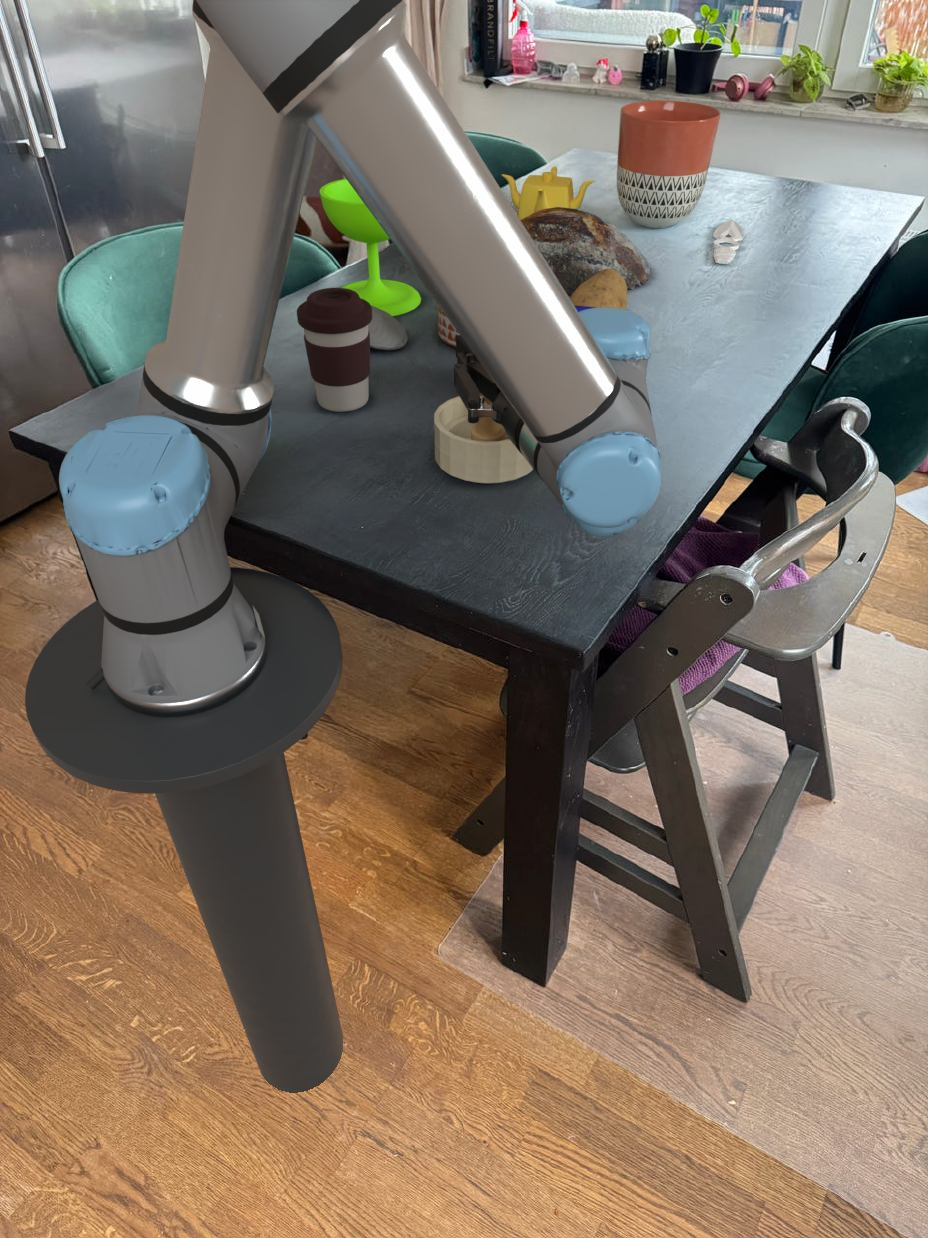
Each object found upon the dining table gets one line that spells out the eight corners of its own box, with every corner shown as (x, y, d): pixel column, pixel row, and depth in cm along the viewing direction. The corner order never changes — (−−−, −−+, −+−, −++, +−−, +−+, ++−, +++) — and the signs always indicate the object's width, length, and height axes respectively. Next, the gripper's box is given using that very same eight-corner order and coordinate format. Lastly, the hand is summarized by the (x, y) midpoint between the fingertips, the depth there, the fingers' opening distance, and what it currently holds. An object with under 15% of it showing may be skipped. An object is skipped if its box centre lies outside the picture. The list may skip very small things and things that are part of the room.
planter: (602, 234, 179) (614, 117, 165) (615, 207, 193) (627, 98, 179) (697, 242, 175) (718, 123, 161) (703, 214, 189) (722, 103, 175)
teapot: (592, 224, 184) (596, 175, 177) (539, 236, 178) (541, 185, 172) (551, 207, 193) (554, 160, 187) (499, 218, 187) (500, 169, 181)
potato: (549, 349, 136) (553, 290, 130) (586, 315, 146) (592, 259, 140) (600, 360, 133) (607, 300, 127) (635, 325, 143) (642, 268, 137)
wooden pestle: (485, 452, 106) (487, 308, 95) (463, 438, 109) (463, 297, 97) (512, 441, 108) (518, 299, 97) (490, 428, 111) (493, 288, 99)
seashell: (327, 343, 137) (363, 354, 131) (325, 306, 135) (362, 316, 128) (385, 336, 144) (422, 346, 138) (385, 300, 142) (423, 309, 135)
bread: (507, 237, 177) (508, 184, 171) (663, 257, 168) (671, 202, 162) (458, 281, 158) (458, 224, 152) (632, 306, 149) (640, 246, 143)
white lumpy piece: (706, 262, 166) (706, 258, 165) (717, 220, 186) (717, 216, 185) (737, 265, 164) (738, 261, 164) (745, 222, 185) (746, 218, 184)
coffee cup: (350, 424, 117) (340, 316, 108) (294, 407, 121) (279, 301, 111) (391, 395, 124) (385, 291, 114) (336, 379, 128) (325, 277, 118)
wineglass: (341, 322, 144) (330, 207, 132) (321, 289, 155) (310, 181, 143) (432, 311, 148) (430, 198, 136) (407, 279, 159) (402, 173, 147)
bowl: (479, 499, 103) (480, 455, 100) (414, 454, 111) (412, 412, 107) (560, 463, 110) (564, 421, 106) (493, 423, 118) (494, 382, 114)
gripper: (476, 476, 90) (412, 381, 106) (616, 450, 94) (533, 362, 110) (476, 411, 85) (409, 322, 101) (625, 385, 89) (536, 304, 105)
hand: (474, 343), depth 106 cm, fingers closed on wooden pestle, 3 cm apart
